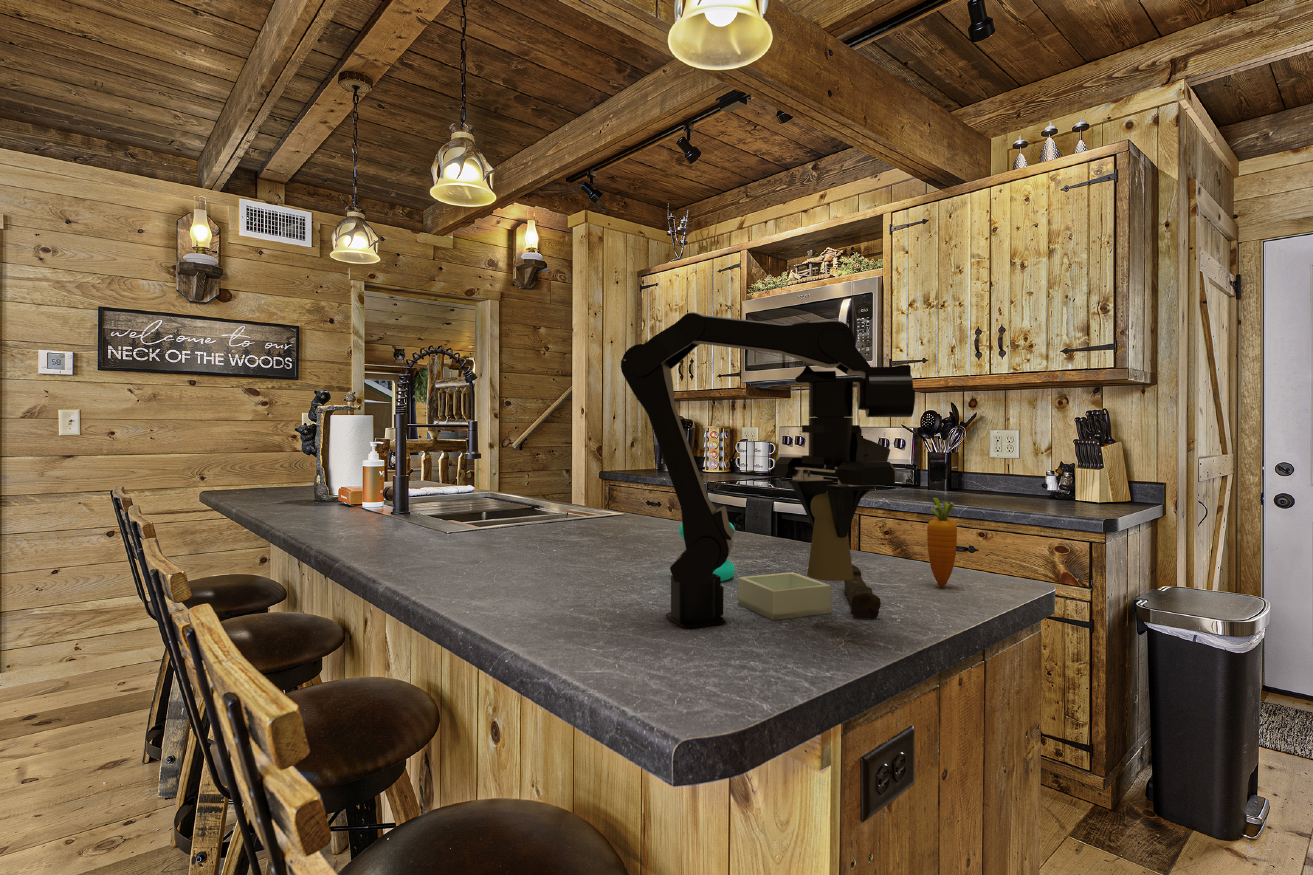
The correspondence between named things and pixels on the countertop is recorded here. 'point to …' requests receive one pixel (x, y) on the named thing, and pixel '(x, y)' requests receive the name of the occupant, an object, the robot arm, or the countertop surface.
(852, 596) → the dark brown lumpy bar
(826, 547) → the cork
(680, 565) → the robot arm
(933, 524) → the carrot
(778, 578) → the tray
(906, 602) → the countertop surface
